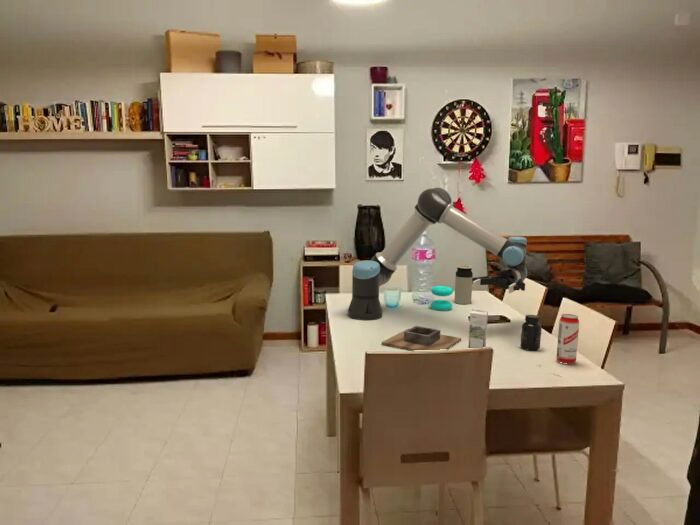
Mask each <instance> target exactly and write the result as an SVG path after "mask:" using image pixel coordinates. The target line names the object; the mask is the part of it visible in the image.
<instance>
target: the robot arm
mask: <svg viewBox="0 0 700 525" xmlns="http://www.w3.org/2000/svg"><path fill="white" fill-rule="evenodd" d="M413 208H414V213H413V214H412V215H411V216H410V217H409V218H408V220H407V221H406V222H405V223H404V225H402V227H401V228H400V230H398V232H397V233H396V234H395V235H394V236H393V238H392V239H391V240H390V242H389V243H388V244H387V245H386V246H385V247H384V249H383V250H382V251H381V252H376V253H375V255H373V256H372V258H371V260H370V259H369V260H362V261H360V260H359V261H357V262H355V263H354V264H353V266H352V271H351V274H352V276H351V277H352V278H351V279H352V280H351V282H352V285H351V286H352V288H351V290H352V291H351V292H352V294H351V295H352V296H351V300H350V304H349V306H348V309H347V316H348V317H349V318H350V319H355V320H362V321H363V320H364V321H371V320H377V319H378V320H379V319H381V318H382V317H383V309H382V304H381V301H380V287H382V286H383V285H386V284H387V283H388V282H389V281H391V278H392V275H393V274H394V273H395V272H396V270H397V269H398V268H397V267H398V266H397V264H398V263H399V262H400V261H401V260H402V258H403V257H404V256H406V254H407V252H408V251H409V250H410V249H411V248H412V247H413V246H414V245H415V243H416V242H417V241H418V240H419V239H420V237H421V236H422V235H423V234H424V232H425V231H426V230H427V229H428V228H429V227H430V225H436V224H437V223H438V224H439V225H440V224H444V225H445V226H447V227H449V228H451V229H452V230H453V231H455V232H457V233H459V234H460V235H462V236H464V237H466V238H467V239H468V240H470V241H472V242H474V243H475V244H476V245H478V246H480V247H482V248H483V249H486V251H488V252H490V253H492V254H493V255H495V256H496V257H498V258H499V259H500V260H503V262H504V264H506V268H505V269H503V270H501V271H499V272H498V274H497V275H495V276H494V275H493V276H491V275H489V274H488V275H485V276H478V277H477V276H475V277H472V290H475V289H477V288H479V287H481V286H488V285H489V286H490V285H491V286H493V287H495V286H499V287H500V288H501V289H503V290H508V294H513V293H514V292H517V291H520V290H521V291H525V290H526V283H525V282H524V281H525V280H526V278H527V277H528V270H527V267H526V266H527V265H526V260H527V248H528V244H527V243H528V241H527V238H526V237H523V236H510V237H508V239H507V238H505V237H504V236H502V235H501V234H498V233H497V232H495V231H493V229H491V228H489V227H487V226H485V225H484V224H482V223H481V222H479V221H477V220H476V219H475V218H472V217H471V216H469V215H467V214H466V213H464V212H463V211H461V210H459V209H458V208H456V207H454V204H453V201H452V196H451V195H450V193H449V192H448V191H447V190H446V189H444V188H441V187H434V188H432V187H431V188H427V189H425V190H423V191H422V192H421V193H420V194H419V196H418V199H417V203H416V204H415V206H414V207H413Z"/></svg>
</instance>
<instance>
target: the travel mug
mask: <svg viewBox="0 0 700 525" xmlns="http://www.w3.org/2000/svg"><path fill="white" fill-rule="evenodd" d="M472 270H473V266H472V265H468V264H459V265H456V270H455V271H456V272H455V281H454V282H455V284H454V303H455V304H458V305H470V304H472V295H473V294H472V292H473V291H472V290H473V289H472V287H473V284H472V278H474V276H473V271H472Z"/></svg>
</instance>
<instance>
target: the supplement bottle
mask: <svg viewBox="0 0 700 525" xmlns="http://www.w3.org/2000/svg"><path fill="white" fill-rule="evenodd" d="M539 322H540V316H539V315H535V314H526V315H525V318H524V322H522V323H521V324H522V325H521V333H520V348H521V349H523V350H524V351H525V350H526V351H535V352H536V351H539V350H540V349H541V341H542V325H541V323H539Z"/></svg>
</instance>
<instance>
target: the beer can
mask: <svg viewBox="0 0 700 525" xmlns="http://www.w3.org/2000/svg"><path fill="white" fill-rule="evenodd" d="M558 323H559V324H558V335H557V343H556V344H557V347H556V357H555V358H556V360H557V362H558V361H559V362H558V363H560V362H562V363H561V364H563V363H567V364H566V365H573V364H574V363H576V362H577V353H578V340H579V333H580V332H579V329H580V320H579V316H578V315H576V314H572V313H562V314H561V317H560V318H559V322H558ZM572 363H573V364H572Z"/></svg>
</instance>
